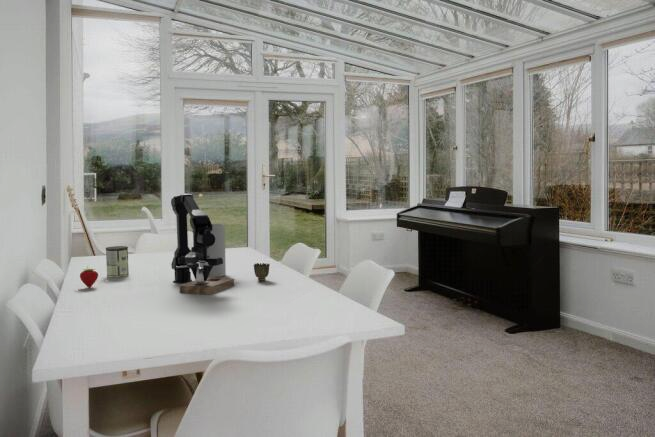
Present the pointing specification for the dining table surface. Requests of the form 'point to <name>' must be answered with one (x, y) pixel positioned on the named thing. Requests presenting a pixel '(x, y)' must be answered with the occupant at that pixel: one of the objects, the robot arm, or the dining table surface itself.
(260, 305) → the dining table surface
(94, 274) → the strawberry
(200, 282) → the lock pin
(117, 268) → the coffee can
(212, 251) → the cylinder vase
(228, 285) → the mount block
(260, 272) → the cup
